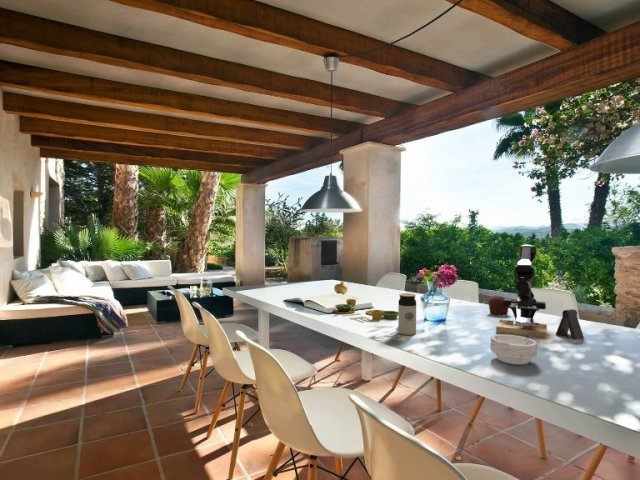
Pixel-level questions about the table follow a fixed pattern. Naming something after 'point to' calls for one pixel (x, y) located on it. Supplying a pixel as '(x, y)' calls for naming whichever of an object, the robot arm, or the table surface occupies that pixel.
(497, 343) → the paper bowls
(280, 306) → the table surface
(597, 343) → the table surface
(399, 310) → the travel mug
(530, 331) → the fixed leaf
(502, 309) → the muffin
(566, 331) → the dark brown a-frame stand
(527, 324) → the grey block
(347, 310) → the tableware set
